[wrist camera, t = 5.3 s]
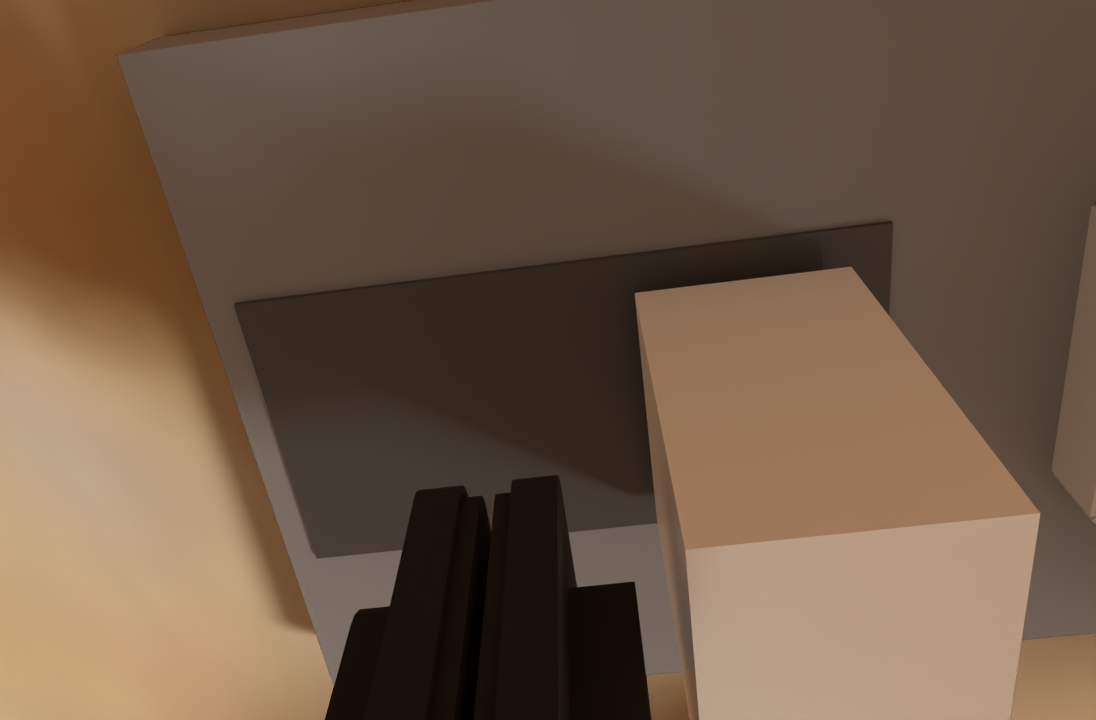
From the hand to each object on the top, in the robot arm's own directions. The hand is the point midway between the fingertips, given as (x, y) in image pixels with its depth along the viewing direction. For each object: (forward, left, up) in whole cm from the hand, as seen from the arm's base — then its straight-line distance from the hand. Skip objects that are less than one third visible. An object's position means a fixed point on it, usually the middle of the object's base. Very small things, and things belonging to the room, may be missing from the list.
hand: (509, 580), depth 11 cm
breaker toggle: (-3, 0, -3) cm, 5 cm away
